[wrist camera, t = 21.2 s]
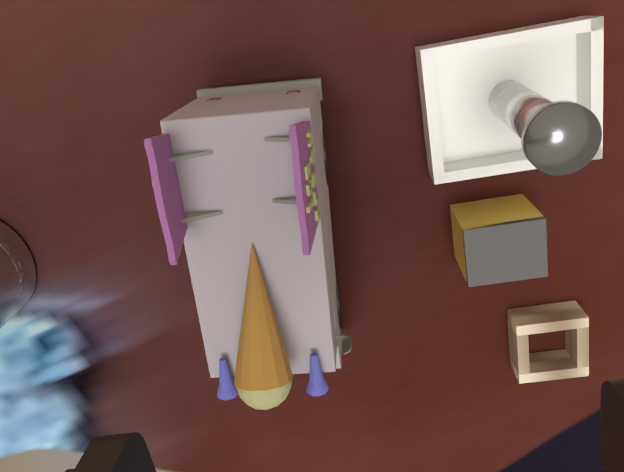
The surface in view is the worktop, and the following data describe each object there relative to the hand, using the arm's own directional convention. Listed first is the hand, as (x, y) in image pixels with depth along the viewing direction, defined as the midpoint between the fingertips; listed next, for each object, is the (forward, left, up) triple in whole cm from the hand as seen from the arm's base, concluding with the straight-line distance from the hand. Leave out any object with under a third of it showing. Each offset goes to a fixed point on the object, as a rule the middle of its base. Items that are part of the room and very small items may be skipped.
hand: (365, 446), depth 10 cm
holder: (+12, -18, -30) cm, 37 cm away
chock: (+8, -9, -30) cm, 33 cm away
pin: (+10, 0, -30) cm, 31 cm away
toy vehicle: (-6, -6, -30) cm, 32 cm away
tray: (+10, 0, -30) cm, 32 cm away
